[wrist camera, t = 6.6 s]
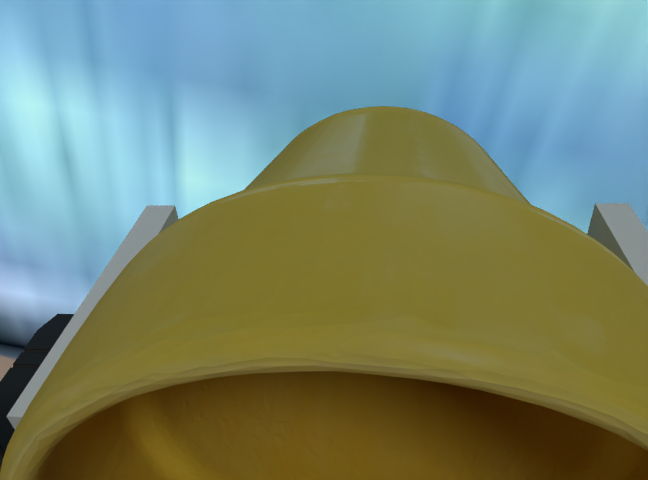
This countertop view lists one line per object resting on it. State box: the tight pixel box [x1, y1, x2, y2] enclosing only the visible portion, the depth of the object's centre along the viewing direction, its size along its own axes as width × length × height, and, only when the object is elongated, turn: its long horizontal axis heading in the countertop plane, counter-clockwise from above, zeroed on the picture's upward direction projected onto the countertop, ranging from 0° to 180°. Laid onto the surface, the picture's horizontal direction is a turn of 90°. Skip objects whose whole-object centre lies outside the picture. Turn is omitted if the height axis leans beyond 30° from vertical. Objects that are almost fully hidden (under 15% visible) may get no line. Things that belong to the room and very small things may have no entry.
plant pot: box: [0, 106, 648, 480], centre depth 12 cm, size 10×10×10 cm
